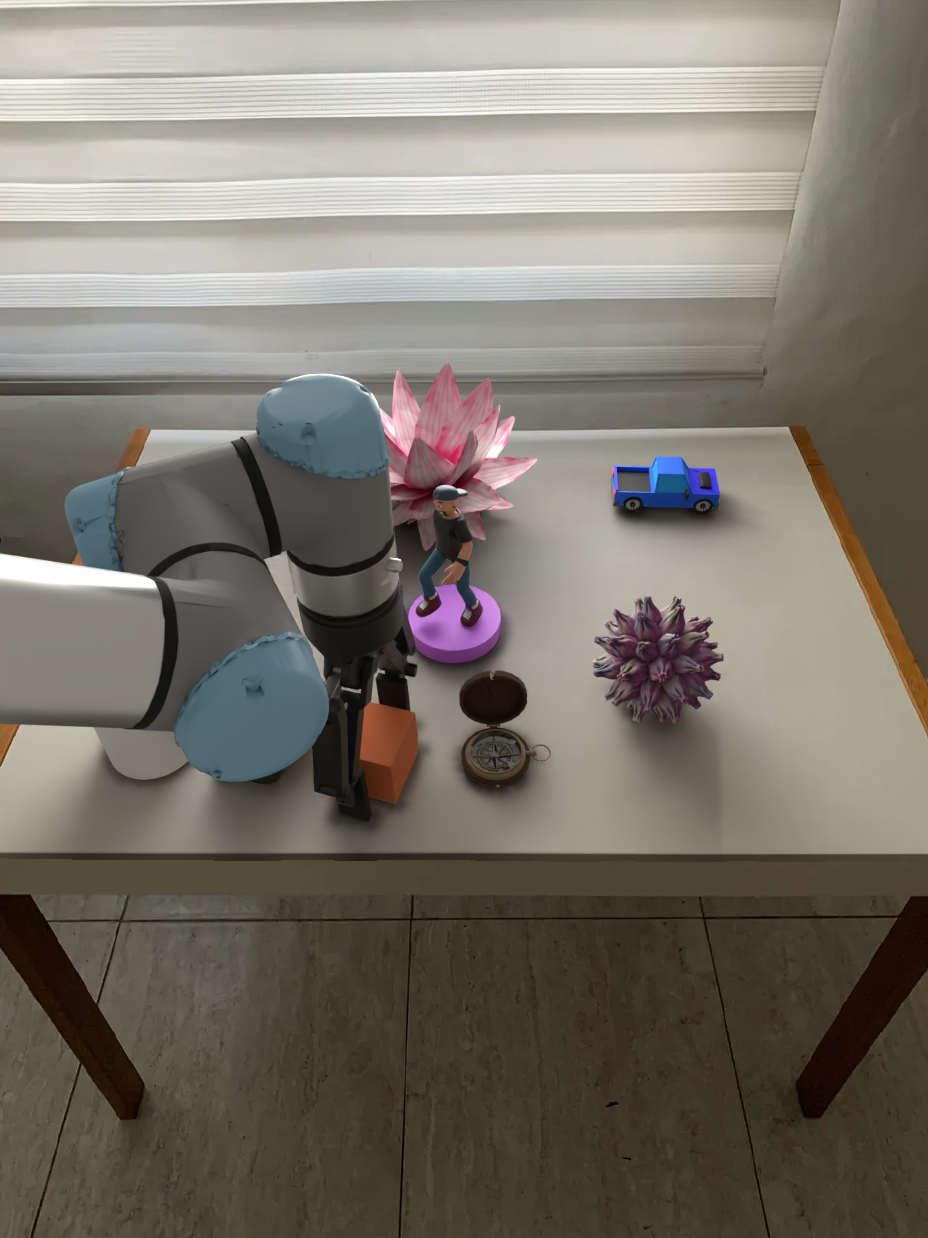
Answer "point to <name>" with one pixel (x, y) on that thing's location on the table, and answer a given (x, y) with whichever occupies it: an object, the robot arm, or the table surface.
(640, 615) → the flower
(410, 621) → the figurine
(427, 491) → the decorative flower
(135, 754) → the cup
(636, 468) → the toy car
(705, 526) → the table surface
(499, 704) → the compass
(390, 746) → the orange cube
